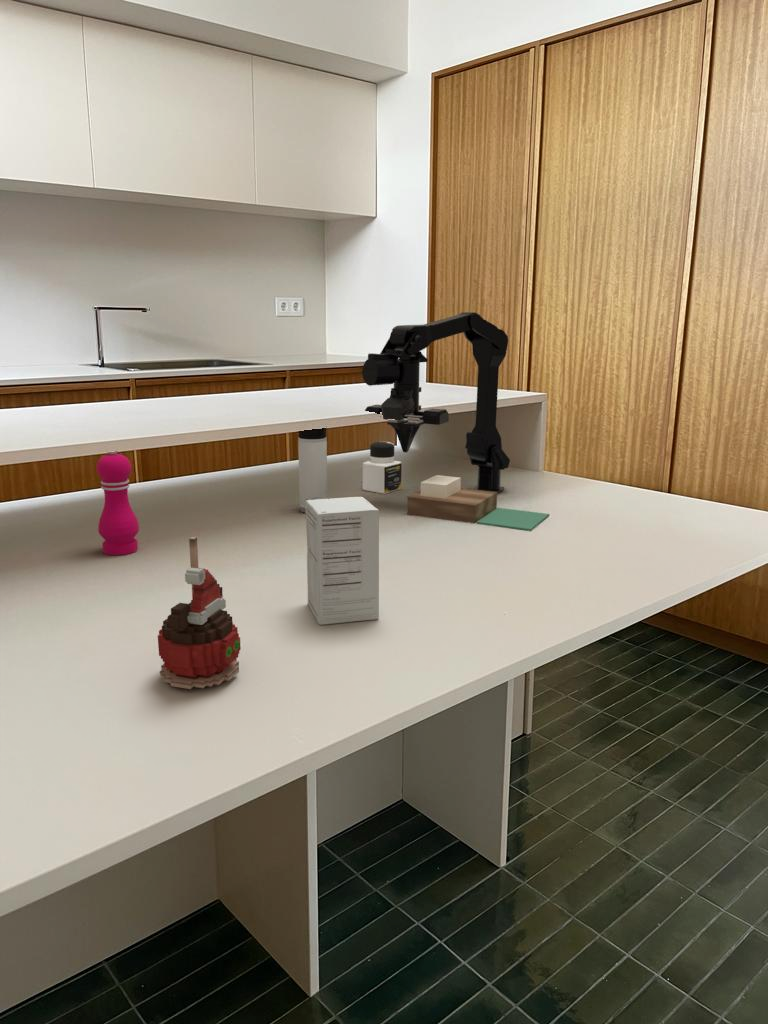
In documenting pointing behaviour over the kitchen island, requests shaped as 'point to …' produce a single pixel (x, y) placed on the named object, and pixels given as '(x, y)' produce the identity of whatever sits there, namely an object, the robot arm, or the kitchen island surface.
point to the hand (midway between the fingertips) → (405, 452)
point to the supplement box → (342, 559)
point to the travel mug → (312, 466)
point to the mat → (513, 519)
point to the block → (440, 486)
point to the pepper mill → (117, 506)
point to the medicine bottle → (382, 469)
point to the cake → (199, 634)
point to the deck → (454, 505)
